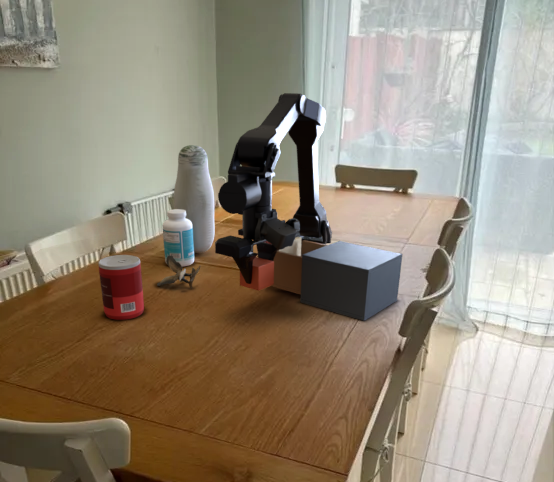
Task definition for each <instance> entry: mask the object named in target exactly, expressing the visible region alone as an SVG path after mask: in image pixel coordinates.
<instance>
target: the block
mask: <svg viewBox="0 0 554 482" xmlns="http://www.w3.org/2000/svg"><path fill="white" fill-rule="evenodd" d="M272 285H274V261H270V260H266V259H262V258H258V256H256V257H255V258H254V260H253V270H252V281H251V284H247V283H246V282H245V280H244V278H243V276H242V274H241V272H240V271H239V286H241V287H243V288H248V289H251V290H255V291H262V290H264V289H266V288H269V287H272Z"/></svg>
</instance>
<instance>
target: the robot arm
mask: <svg viewBox="0 0 554 482" xmlns="http://www.w3.org/2000/svg"><path fill="white" fill-rule="evenodd" d="M326 119H327V112H326V109H325V108H324V106H322V105H321V104H320V103H319V102H318V101H315V100H312V99H310V98H307V96H306V95H305V94H302V93H297V92H296V93H293V92H284V93H281V94H280V95H279V97H278V100H277V102H276V104H275V105H274V106H273V108H272V110H271V111H269V113H268V114H267V116H266V117H265V118H264V120H263V121H262V123H260V125H259V126H257V127H254V128H252V129H249V130H246V131H245V132H244V133H243V134H242V135H241V136H239V138H238V140H237V142H236V144H235V147H234V149H233V153H232V157H231V160H230V163H229V166H228V170H227V181H226V182H224V183H223V184H222V185H221V186H220V188H219V190H218V192H217V199H218V203H219V206H221V208H222V209H223V210H224V211H225V212H226V213H227V214H231V215H236V214H237V215H239V216H240V215H241V217H242V218H241V219H242V228H239V229H237V235H238V236H236V235H226V236H223V237H219V238H217V240H216V241H214V252H215V254H217V255H222V256H224V257H229V258H232V259H233V261H234V263H235V264H236V266H237V268H238V269H239V273H240V272H241V274H242V276H243V278H244V280H245V282H246V283H247V284H251V281H252V270H253V260H254V258H255V257H259V258H262V259H266V260H270V261H273V260H274V257H275V255H276V253H277V251H278V250H280V249H284V248H285V247H288V246H292V245H293V242H294V240H295V238H296V237H301V256H302V242H303V240H307V241H311V242H316V243H321V244H325V245H329V244H332V238H333V236H332V234H333V231H332V228H331V225H330V222H329V220H328V217H327V210H326V209H325V207H324V205H322V202H320V186H319V185H320V184H319V159H318V157H319V155H318V153H319V152H318V141H319V139H320V137H321V136H322V134H323V133H324V131H325V124H326ZM287 134H288V136H289V137H290V139H291V140H292V142H293V143H294V145H295V147H296V162H297V163H296V165H297V181H298V197H299V198H298V199H299V206H298V208H297V209H296V211H295V212H294V214H293V215H292V218H288V219H287V220H286V219H283V220H281V219H279V218H278V211H277V209H276V208H273V204H272V203H273V200H272V199H273V179H274V178H275V177H276V173H275V171H274V170H275V169H276V165H277V163H278V161H279V158H280V156H281V149H280V144H281V142H282V141H283V139H284V138H285V136H286V135H287ZM239 236H242V237H239ZM254 246H256V251H257V252H254Z"/></svg>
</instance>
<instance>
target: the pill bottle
mask: <svg viewBox="0 0 554 482" xmlns="http://www.w3.org/2000/svg"><path fill="white" fill-rule="evenodd" d="M166 216H167V218H166V219H165V220H164V221H163V222H162V227H161V228H162V238H163V239H162V240H163V251H164V262H165V264H166V265H168V264H167V262H166V260H167V259H166V258H167V257H168V256H170V255H172V256H173V258H174V259H175V261H176V262H179V263H180V264H181V266H182V267H189V266H191V265H193V264H194V262H195V253H194V245H193V228H192V222H191V221H190V220H188V219H186V218H185V217H186V210H182V209H175V208H174V209H169V210H167V211H166Z"/></svg>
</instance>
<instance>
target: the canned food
mask: <svg viewBox="0 0 554 482" xmlns="http://www.w3.org/2000/svg"><path fill="white" fill-rule="evenodd" d="M98 274H99V283H100V290H101V298H102V306H103V312H104V314H105V316H106V317H107V318H109V319H111V320H116V321H125V320H132V319H135V318H138V317H139V316H141V315H142V314H143V313H144V310H145V301H144V289H143V287H144V286H143V278H142V277H143V276H142V275H143V274H142V265H141V259H140V257H138V256H135V255H132V254H131V255H130V254H115V255H110V256H105V257H103V258H101V259H100V260H98Z"/></svg>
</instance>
